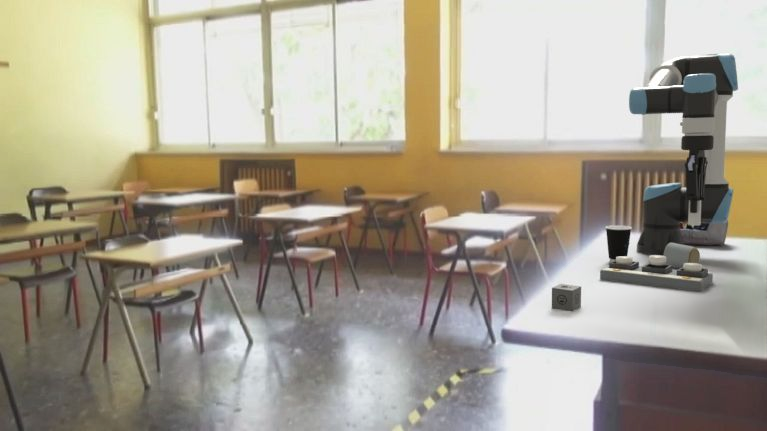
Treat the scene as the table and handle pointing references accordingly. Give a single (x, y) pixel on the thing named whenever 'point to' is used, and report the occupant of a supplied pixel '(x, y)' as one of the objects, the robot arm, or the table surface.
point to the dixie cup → (618, 241)
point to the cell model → (704, 233)
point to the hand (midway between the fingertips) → (694, 224)
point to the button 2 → (692, 267)
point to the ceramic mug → (680, 255)
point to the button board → (657, 276)
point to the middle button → (657, 260)
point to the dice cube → (566, 297)
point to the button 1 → (624, 260)
